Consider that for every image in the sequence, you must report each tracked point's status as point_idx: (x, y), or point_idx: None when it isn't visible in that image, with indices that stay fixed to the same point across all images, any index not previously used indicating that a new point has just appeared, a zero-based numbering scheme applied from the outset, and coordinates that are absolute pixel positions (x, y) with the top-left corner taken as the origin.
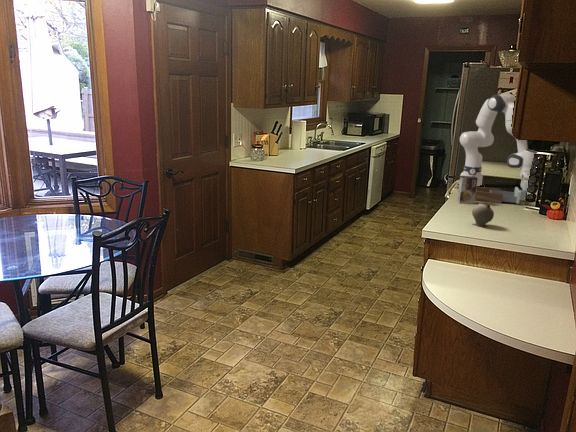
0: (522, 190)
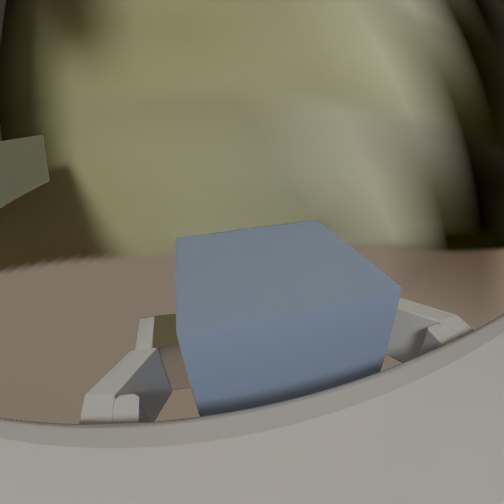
0: (353, 345)
